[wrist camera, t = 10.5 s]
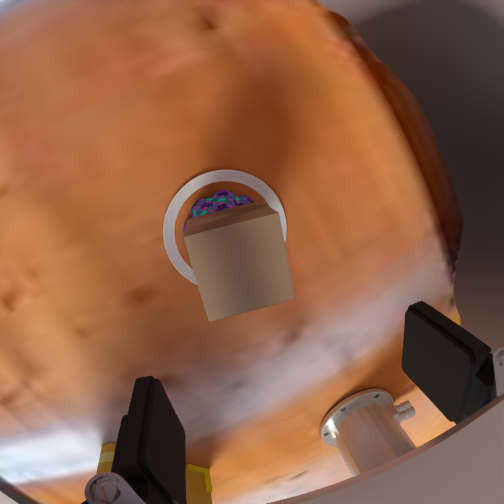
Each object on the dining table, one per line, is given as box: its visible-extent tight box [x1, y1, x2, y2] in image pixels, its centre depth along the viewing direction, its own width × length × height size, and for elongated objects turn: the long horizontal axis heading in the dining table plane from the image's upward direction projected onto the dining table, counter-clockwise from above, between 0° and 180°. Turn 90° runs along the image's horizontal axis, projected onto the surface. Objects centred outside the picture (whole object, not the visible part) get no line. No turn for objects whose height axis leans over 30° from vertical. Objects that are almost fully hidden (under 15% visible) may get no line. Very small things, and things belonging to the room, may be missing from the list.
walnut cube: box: [183, 201, 295, 322], centre depth 22 cm, size 6×6×6 cm
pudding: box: [163, 170, 287, 285], centre depth 28 cm, size 12×12×5 cm
